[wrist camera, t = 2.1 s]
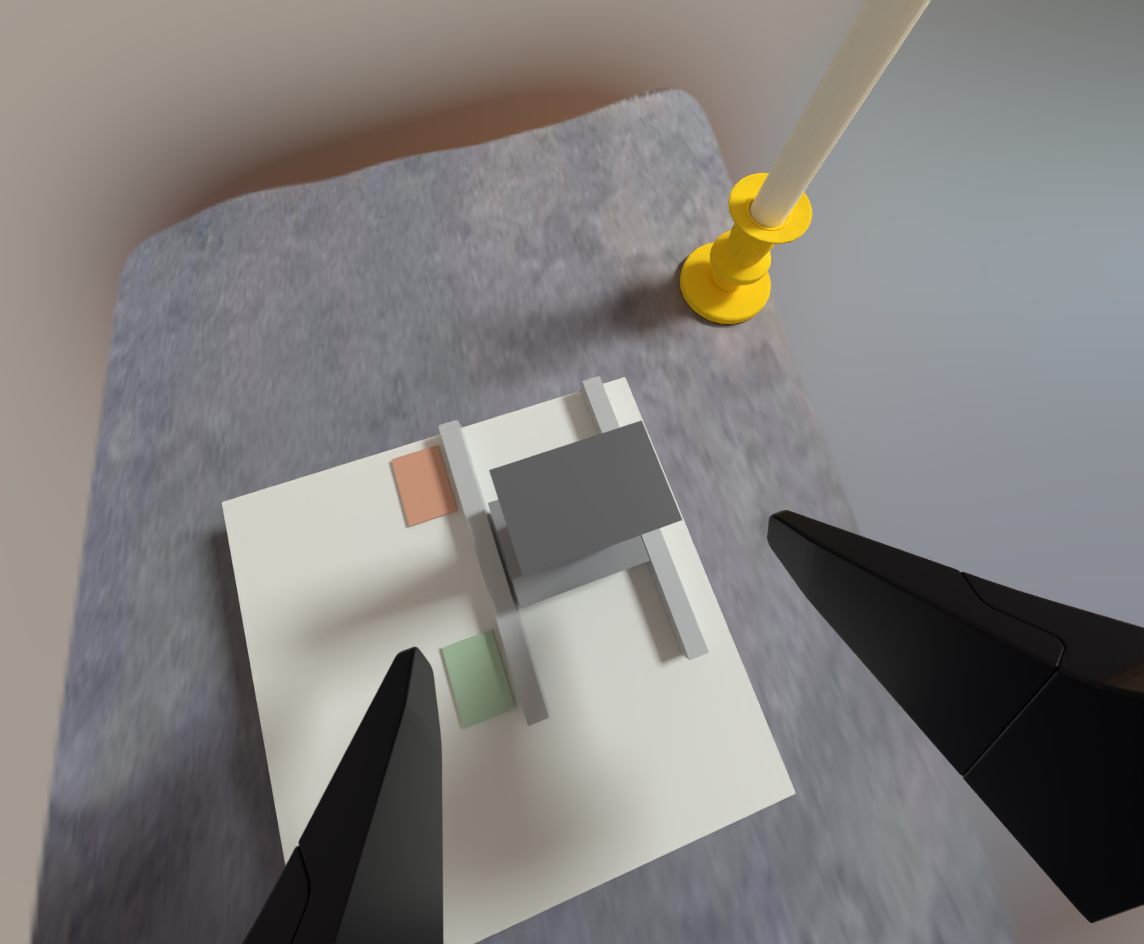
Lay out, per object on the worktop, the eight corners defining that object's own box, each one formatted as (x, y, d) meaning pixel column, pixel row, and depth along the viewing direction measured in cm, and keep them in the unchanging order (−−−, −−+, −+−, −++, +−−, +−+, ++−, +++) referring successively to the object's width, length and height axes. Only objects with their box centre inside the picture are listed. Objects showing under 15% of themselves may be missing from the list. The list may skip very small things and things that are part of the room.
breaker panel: (757, 757, 18) (812, 808, 14) (355, 937, 16) (293, 1054, 12) (615, 402, 22) (628, 367, 18) (270, 511, 20) (201, 498, 16)
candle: (784, 294, 24) (1185, -175, 9) (720, 341, 23) (1043, -91, 8) (725, 233, 25) (998, -294, 10) (661, 276, 24) (850, -230, 9)
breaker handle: (639, 561, 17) (755, 554, 7) (524, 603, 16) (483, 658, 7) (605, 472, 18) (669, 359, 8) (495, 510, 17) (419, 436, 7)
